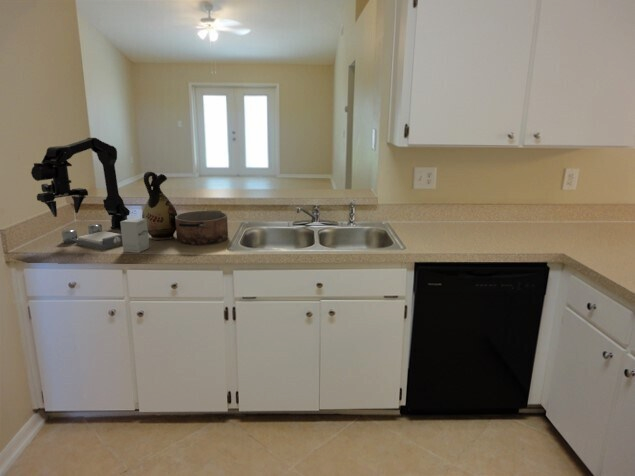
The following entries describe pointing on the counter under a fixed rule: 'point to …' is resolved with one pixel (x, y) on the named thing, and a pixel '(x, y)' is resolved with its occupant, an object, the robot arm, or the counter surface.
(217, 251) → the counter surface
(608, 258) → the counter surface
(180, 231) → the cooking pot
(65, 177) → the robot arm
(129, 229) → the supplement box
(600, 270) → the counter surface
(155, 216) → the ceramic jug
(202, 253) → the counter surface
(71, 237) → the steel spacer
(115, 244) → the kitchen scale
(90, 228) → the steel spacer
